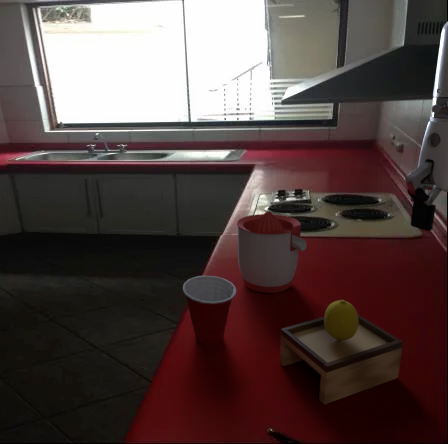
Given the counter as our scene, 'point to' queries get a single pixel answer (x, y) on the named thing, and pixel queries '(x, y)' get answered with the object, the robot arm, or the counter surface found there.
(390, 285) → the counter surface
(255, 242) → the citrus juicer
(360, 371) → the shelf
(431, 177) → the robot arm
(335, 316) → the lemon
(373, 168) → the counter surface
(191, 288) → the plastic cup
